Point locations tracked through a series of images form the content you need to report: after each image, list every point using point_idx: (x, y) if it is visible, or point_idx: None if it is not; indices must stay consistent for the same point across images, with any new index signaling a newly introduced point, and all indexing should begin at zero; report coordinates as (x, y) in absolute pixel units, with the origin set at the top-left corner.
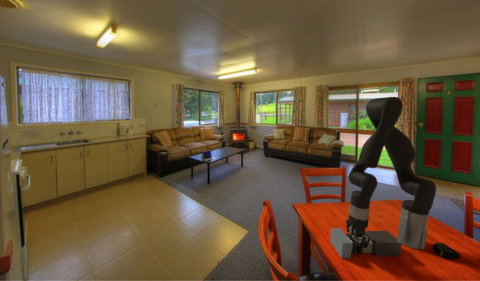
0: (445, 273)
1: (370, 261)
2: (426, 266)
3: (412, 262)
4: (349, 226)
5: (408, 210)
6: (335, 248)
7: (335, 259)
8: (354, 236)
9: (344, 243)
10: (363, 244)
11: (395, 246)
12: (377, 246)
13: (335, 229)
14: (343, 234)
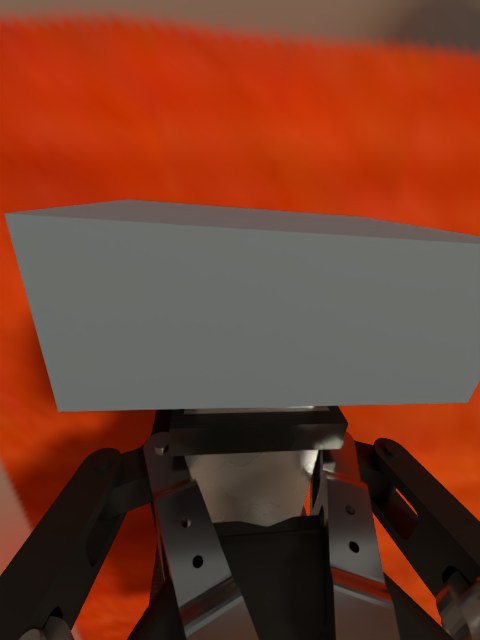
0: (88, 622)
1: (118, 416)
2: (119, 597)
3: (138, 573)
4: (428, 538)
5: None
6: (259, 209)
7: (97, 104)
8: (293, 471)
9: (29, 257)
10: (40, 536)
11: None
12: (155, 560)
13: (476, 307)
14: (305, 379)
